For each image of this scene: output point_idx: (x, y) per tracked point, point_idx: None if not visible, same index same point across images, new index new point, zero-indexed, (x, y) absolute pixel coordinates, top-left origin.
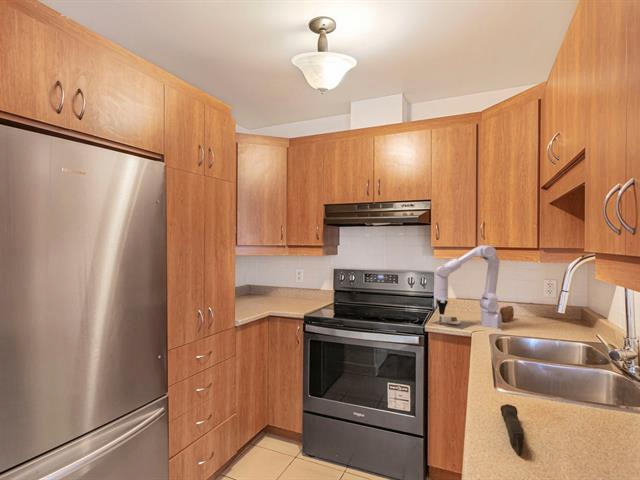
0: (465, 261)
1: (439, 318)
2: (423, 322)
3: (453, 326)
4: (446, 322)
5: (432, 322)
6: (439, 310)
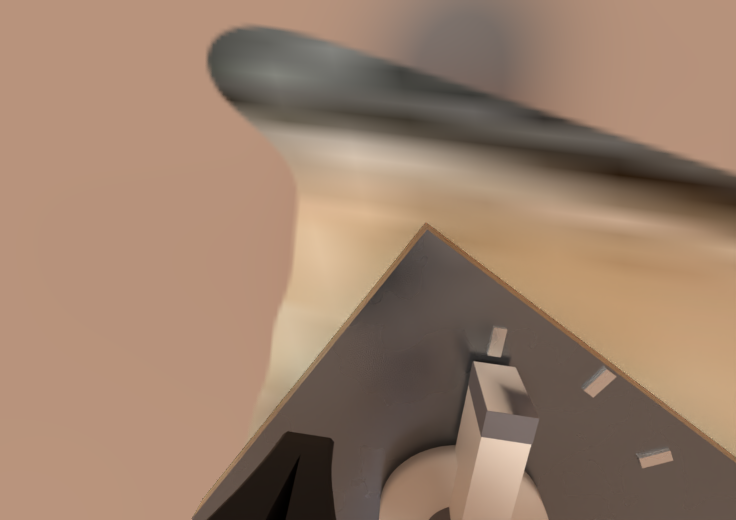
0: None
1: (481, 390)
2: (604, 144)
3: None
4: None
5: (472, 265)
6: (245, 484)
